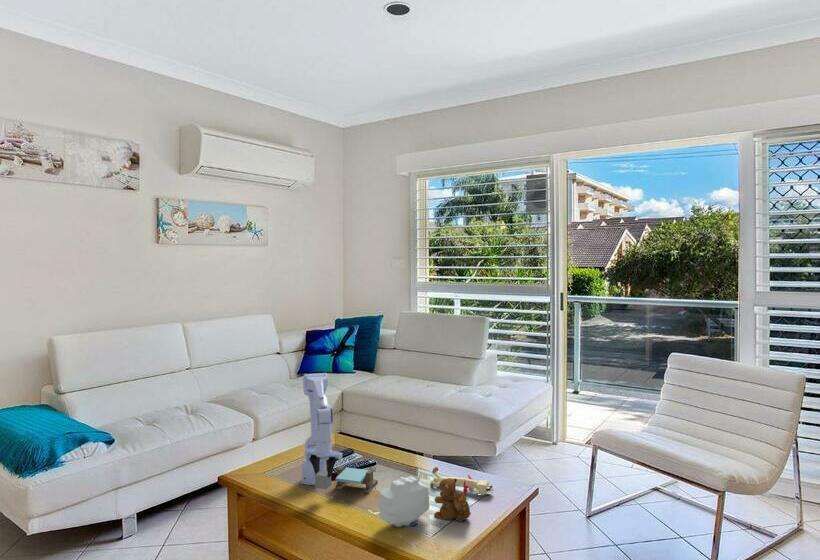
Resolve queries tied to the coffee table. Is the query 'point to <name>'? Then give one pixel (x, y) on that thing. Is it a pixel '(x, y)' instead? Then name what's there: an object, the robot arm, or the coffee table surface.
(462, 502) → the stuffed squirrel
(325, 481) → the stone
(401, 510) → the grey rounded lump
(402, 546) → the coffee table surface
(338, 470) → the trapdoor frame
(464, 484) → the cat figure
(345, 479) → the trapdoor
